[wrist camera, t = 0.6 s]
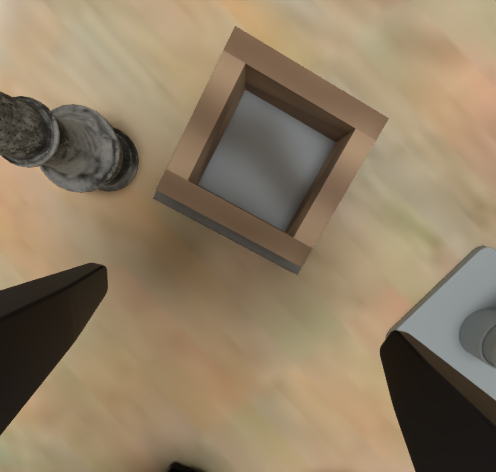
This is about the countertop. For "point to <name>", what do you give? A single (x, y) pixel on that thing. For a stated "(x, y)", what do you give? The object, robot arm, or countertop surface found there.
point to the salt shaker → (66, 144)
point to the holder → (268, 152)
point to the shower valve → (461, 319)
